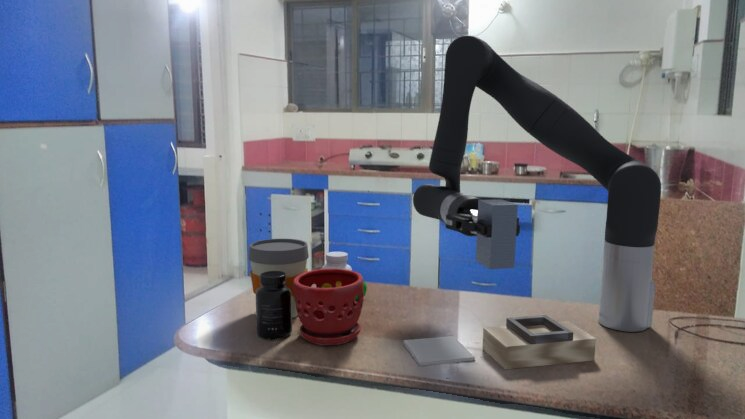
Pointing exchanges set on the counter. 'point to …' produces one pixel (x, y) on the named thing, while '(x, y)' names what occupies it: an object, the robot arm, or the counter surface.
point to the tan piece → (537, 342)
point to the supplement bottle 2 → (336, 264)
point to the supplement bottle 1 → (273, 306)
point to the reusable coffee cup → (278, 261)
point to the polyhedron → (364, 290)
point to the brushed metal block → (497, 234)
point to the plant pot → (329, 305)
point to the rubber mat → (438, 350)
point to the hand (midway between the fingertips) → (503, 230)
